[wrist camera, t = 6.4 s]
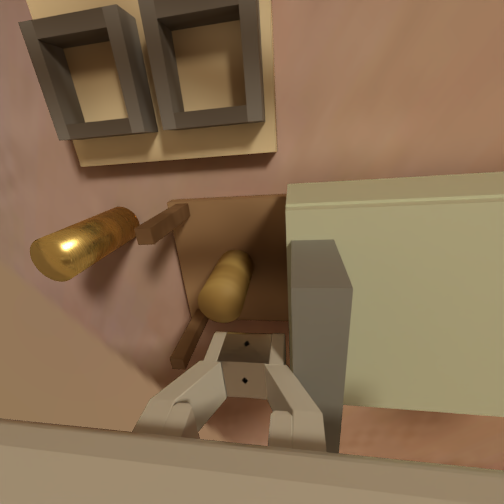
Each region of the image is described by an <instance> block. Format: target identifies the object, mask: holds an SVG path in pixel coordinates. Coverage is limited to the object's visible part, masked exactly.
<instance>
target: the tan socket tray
mask: <svg viewBox="0 0 504 504" xmlns="http://www.w3.org/2000/svg"><path fill="white" fill-rule="evenodd" d="M26 1H27V4H28V7H29V10H30V13H31V16H32V19H33V20H29V21H24V22H18V23H19V26H20V29H21V32H22V35H23V38H24V40H25V43H26V46H27V49H28V52H29V55H30V58H31V61H32V63H33V66H34V69H35V72H36V75H37V78H38V81H39V84H40V87H41V89H42V92H43V95H44V98H45V101H46V104H47V107H48V110H49V112H50V115H51V118H52V121H53V124H54V127H55V130H56V133H57V136H58V138H59V140H72V141H73V144H74V147H75V150H76V153H77V156H78V159H79V162H80V165H81V167H87V166H100V165H113V164H126V163H139V162H152V161H164V160H177V159H190V158H203V157H216V156H229V155H241V154H254V153H267V152H277V128H276V102H275V76H274V50H273V24H272V0H26Z"/></svg>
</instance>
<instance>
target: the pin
mask: <svg viewBox="0 0 504 504" xmlns="http://www.w3.org/2000/svg"><path fill="white" fill-rule="evenodd" d="M138 226H139V221H138V219H137V217H136V216H135V214H134V213H133V212H132V211H130V210H129V209H127V208H124V207H115V208H113V209H110V210H108V211H105V212H103V213H100V214H98V215H96V216H93V217H91V218H88V219H86V220H83V221H81V222H78V223H76V224H74V225H71V226H69V227H66V228H64V229H61V230H59V231H57V232H54V233H52V234H49V235H47V236H44V237H42V238H39V239H37V240H35V241H34V242H33V243H32V245H31V247H30V256H31V259H32V261H33V263H34V265H35V266H36V268H37V269H38V270H39V271H40V272H41V273H42V274H43V275H45V276H46V277H48V278H50V279H52V280H55V281H61V282H63V281H68V280H70V279H71V278H73V277H74V276H76V275H78V274H79V273H81V272H82V271H84V270H85V269H87V268H88V267H90V266H91V265H93V264H94V263H96V262H98V261H99V260H101V259H102V258H104V257H105V256H107V255H108V254H110V253H111V252H113V251H114V250H116V249H118V248H119V247H121V246H122V245H124V244H125V243H127V242H128V241H130V240H131V239H133V238H135V237H136V234H135V230H134V228H136V227H138Z"/></svg>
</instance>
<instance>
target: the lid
mask: <svg viewBox="0 0 504 504" xmlns="http://www.w3.org/2000/svg"><path fill="white" fill-rule="evenodd" d="M285 212H286V246H287V280H288V315H289V349H290V369H291V371H292V372H293V374H294V375H295V376H296V378H297V379H298V380H299V382H300V383H301V385H302V386H303V387H304V389H305V390H306V391H307V393H308V394H309V396H310V397H311V398H312V400H313V401H314V402H315V404H316V405H317V407H318V408H319V409H320V411H321V412H322V413H323V423H324V432H325V441H326V451H327V452H330V453H339V444H340V432H341V421H342V410H343V405H353V406H366V407H379V408H392V409H405V410H419V411H432V412H445V413H458V414H471V415H485V416H498V417H504V172H489V173H472V174H455V175H437V176H420V177H402V178H385V179H368V180H350V181H333V182H315V183H298V184H288V187H287V197H286V210H285Z"/></svg>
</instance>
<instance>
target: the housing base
mask: <svg viewBox="0 0 504 504" xmlns="http://www.w3.org/2000/svg"><path fill="white" fill-rule="evenodd" d="M286 197H287V194H274V195H255V196H235V197H216V198H197V199H177V200H171V201H169V202H167V205H168V209H166V210H165V211H163V212H161V213H160V214H158V215H156V216H155V217H153V218H151V219H150V220H148V221H146V222H145V223H143V224H141V225H139V226H138V227H136V228H134V230H135V234H136V238H137V241H138V245H150V244H155V243H157V242H158V241H159V240H160V239H162V238H163V237H164V236H165V235H167V234H168V233H169V232H170V231H172V230H173V234H174V238H175V243H176V248H177V252H178V257H179V262H180V266H181V271H182V276H183V280H184V285H185V290H186V295H187V299H188V304H189V309H190V313H191V318H192V319H191V321H190V323H189V325H188V327H187V328H186V330H185V332H184V334H183V336H182V337H181V339H180V341H179V343H178V345H177V347H176V348H175V350H174V352H173V354H172V356H171V358H170V361H171V365H172V368H173V369H186V367H187V365H188V363H189V360H190V358H191V356H192V354H193V352H194V349H195V347H196V345H197V343H198V341H199V338H200V336H201V334H202V332H203V330H204V328H205V325H206V323H207V321H208V319H211V320H213V321H215V322H219V323H227V322H231V321H234V320H267V321H289V315H288V280H287V246H286V212H285V210H286Z"/></svg>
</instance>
